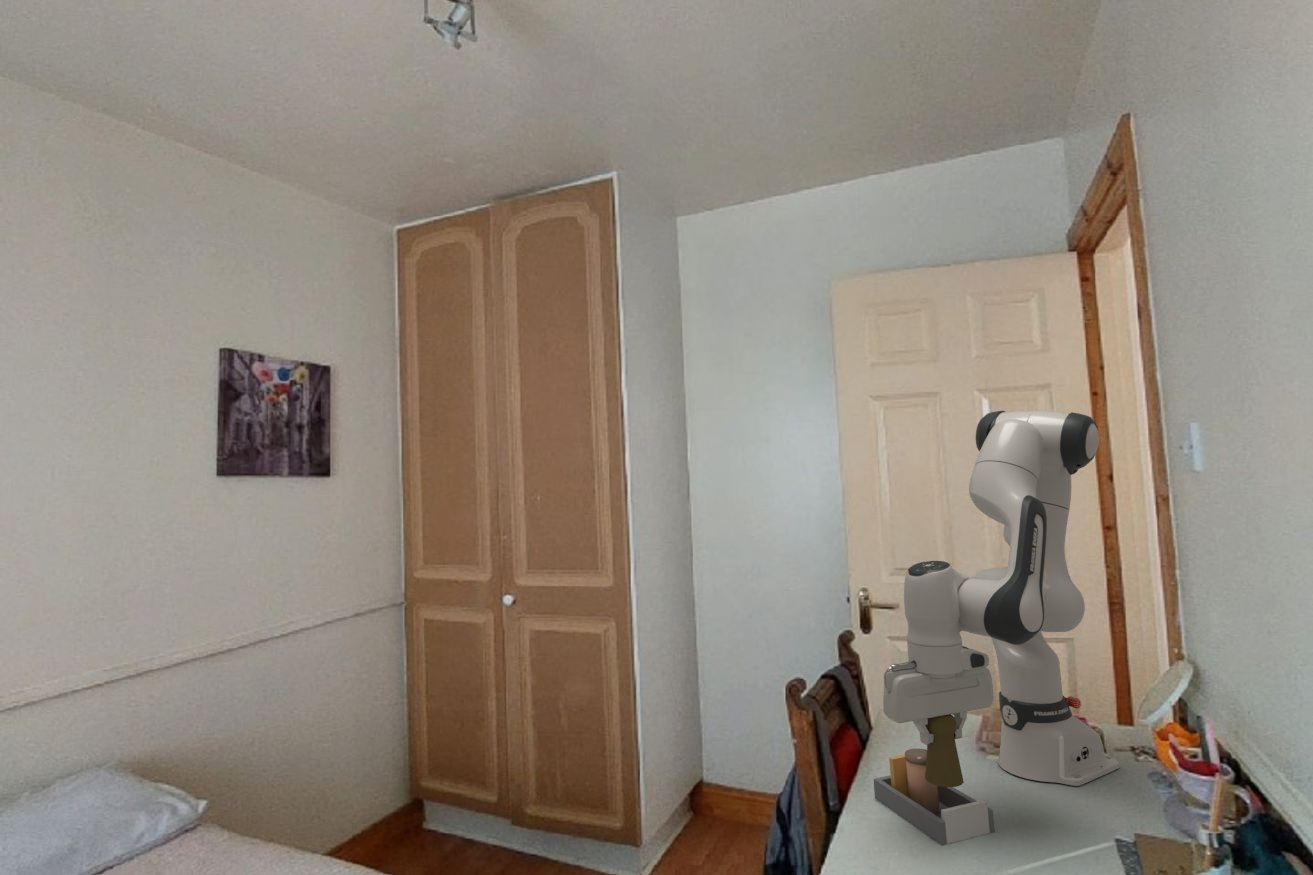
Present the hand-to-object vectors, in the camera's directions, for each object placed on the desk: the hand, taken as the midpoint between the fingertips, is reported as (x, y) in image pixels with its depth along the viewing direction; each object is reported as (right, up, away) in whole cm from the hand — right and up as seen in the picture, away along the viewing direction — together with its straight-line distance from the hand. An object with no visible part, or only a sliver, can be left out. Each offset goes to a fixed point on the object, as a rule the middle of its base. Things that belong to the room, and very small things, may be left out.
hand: (941, 740), depth 117 cm
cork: (0, -7, -1) cm, 7 cm away
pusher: (-2, -15, +8) cm, 18 cm away
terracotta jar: (-1, -15, +5) cm, 15 cm away
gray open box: (0, -15, +3) cm, 15 cm away
